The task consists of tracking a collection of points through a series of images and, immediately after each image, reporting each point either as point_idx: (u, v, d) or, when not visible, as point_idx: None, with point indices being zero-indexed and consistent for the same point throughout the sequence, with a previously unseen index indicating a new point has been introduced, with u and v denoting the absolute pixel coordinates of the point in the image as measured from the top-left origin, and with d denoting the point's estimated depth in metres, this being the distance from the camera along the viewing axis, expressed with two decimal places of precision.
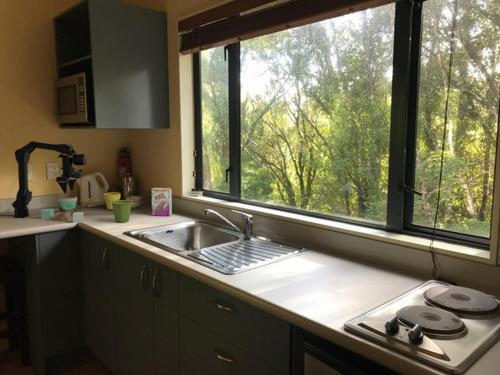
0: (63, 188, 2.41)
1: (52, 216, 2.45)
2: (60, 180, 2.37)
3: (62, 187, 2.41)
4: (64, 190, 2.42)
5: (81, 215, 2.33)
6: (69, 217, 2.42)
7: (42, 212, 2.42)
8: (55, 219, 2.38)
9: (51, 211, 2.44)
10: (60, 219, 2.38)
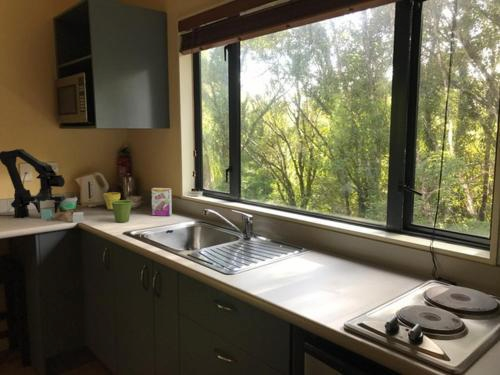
0: None
1: (52, 216, 2.45)
2: None
3: None
4: None
5: (81, 215, 2.33)
6: (69, 217, 2.42)
7: (42, 212, 2.42)
8: (55, 219, 2.38)
9: (51, 211, 2.44)
10: (60, 219, 2.38)
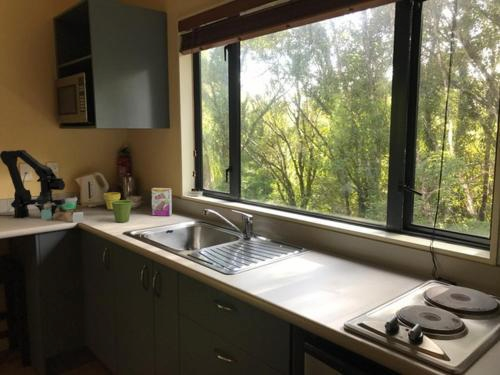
0: None
1: None
2: None
3: None
4: None
5: (81, 215, 2.33)
6: (69, 217, 2.42)
7: (42, 212, 2.42)
8: (55, 219, 2.38)
9: (51, 211, 2.44)
10: (60, 219, 2.38)
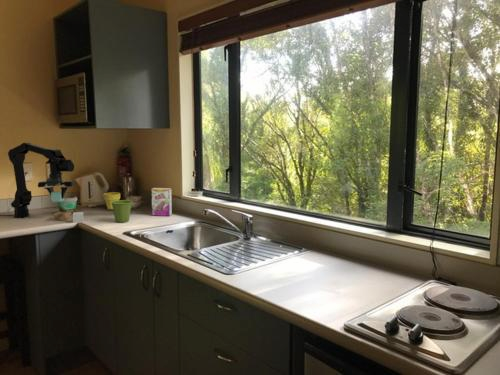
0: None
1: None
2: None
3: None
4: None
5: (81, 215, 2.33)
6: (69, 217, 2.42)
7: (52, 194, 2.38)
8: (55, 219, 2.38)
9: None
10: (59, 219, 2.38)
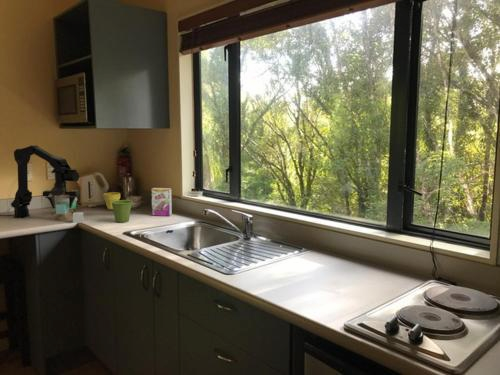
0: None
1: (66, 211, 2.41)
2: None
3: None
4: None
5: (81, 215, 2.33)
6: (69, 217, 2.42)
7: (56, 207, 2.38)
8: (54, 219, 2.38)
9: (65, 206, 2.40)
10: (59, 219, 2.38)
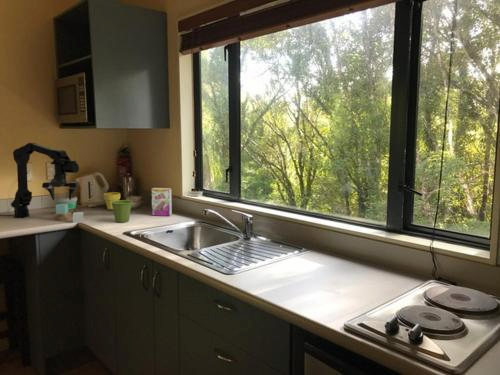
0: None
1: (66, 211, 2.41)
2: None
3: None
4: None
5: (81, 215, 2.33)
6: (69, 217, 2.42)
7: (56, 207, 2.38)
8: (54, 219, 2.38)
9: (65, 206, 2.40)
10: (59, 219, 2.38)
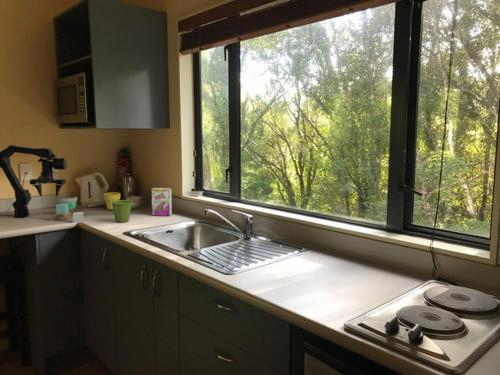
0: None
1: (67, 211, 2.41)
2: None
3: None
4: None
5: (81, 215, 2.33)
6: (69, 217, 2.41)
7: (57, 207, 2.38)
8: (54, 219, 2.38)
9: (66, 206, 2.40)
10: (59, 219, 2.38)
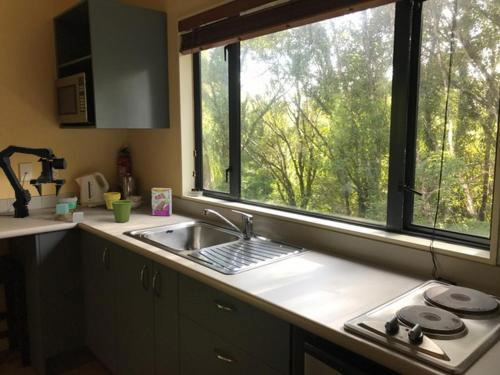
0: None
1: (67, 211, 2.41)
2: None
3: None
4: None
5: (81, 215, 2.33)
6: (69, 217, 2.41)
7: (57, 207, 2.38)
8: (54, 219, 2.38)
9: (66, 206, 2.40)
10: (59, 219, 2.37)
